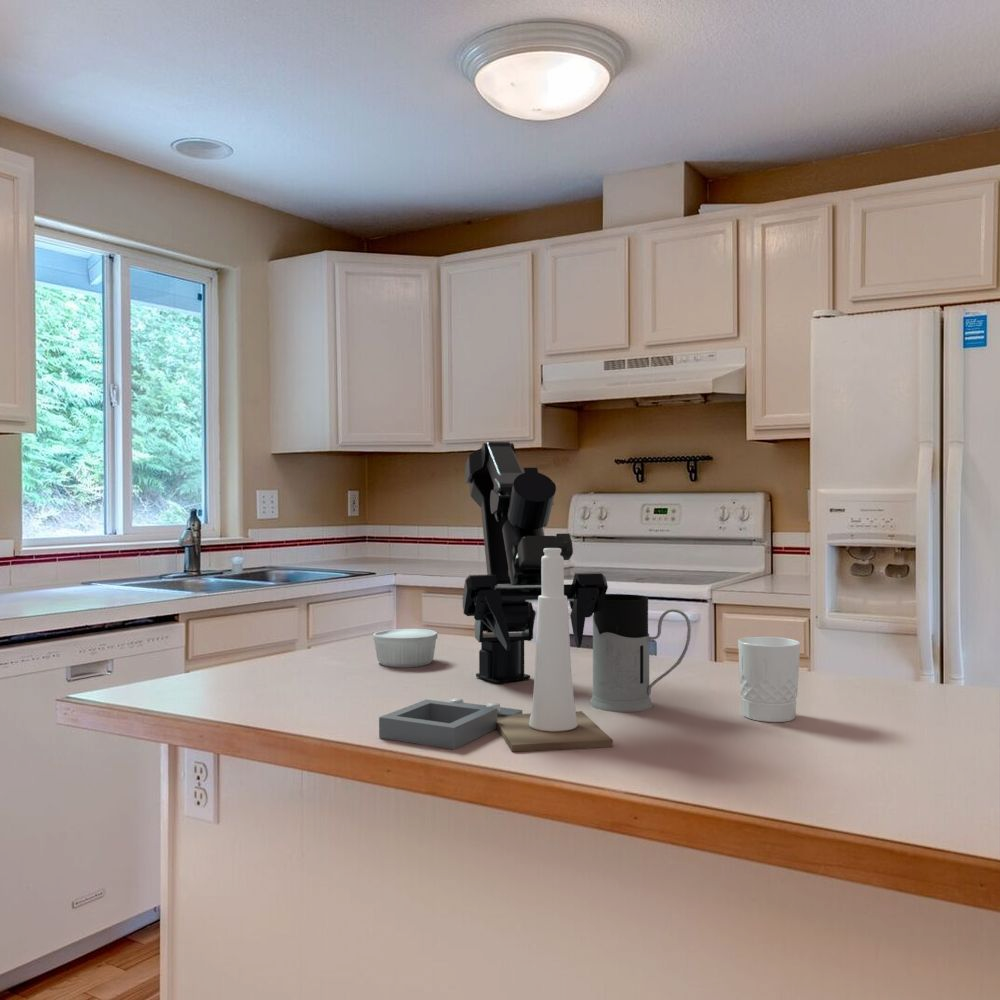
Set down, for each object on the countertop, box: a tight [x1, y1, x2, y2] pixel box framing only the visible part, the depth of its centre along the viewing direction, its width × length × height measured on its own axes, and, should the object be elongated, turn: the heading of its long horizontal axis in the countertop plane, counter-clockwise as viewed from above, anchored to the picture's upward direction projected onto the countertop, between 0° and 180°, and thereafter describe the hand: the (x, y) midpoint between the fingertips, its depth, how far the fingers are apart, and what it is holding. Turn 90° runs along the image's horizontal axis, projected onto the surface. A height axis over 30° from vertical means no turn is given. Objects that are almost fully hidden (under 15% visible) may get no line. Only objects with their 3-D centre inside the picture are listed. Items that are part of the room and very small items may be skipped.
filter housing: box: [378, 697, 523, 750], centre depth 117 cm, size 18×11×2 cm, turn 152°
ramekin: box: [372, 628, 439, 668], centre depth 160 cm, size 11×11×5 cm
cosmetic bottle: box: [529, 548, 578, 732], centre depth 114 cm, size 6×6×22 cm
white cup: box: [737, 635, 801, 723], centre depth 122 cm, size 8×8×10 cm
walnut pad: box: [497, 710, 614, 753], centre depth 114 cm, size 14×12×1 cm
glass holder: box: [589, 593, 692, 713], centre depth 128 cm, size 9×14×15 cm, turn 64°
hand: (544, 646), depth 116 cm, fingers open, 9 cm apart
